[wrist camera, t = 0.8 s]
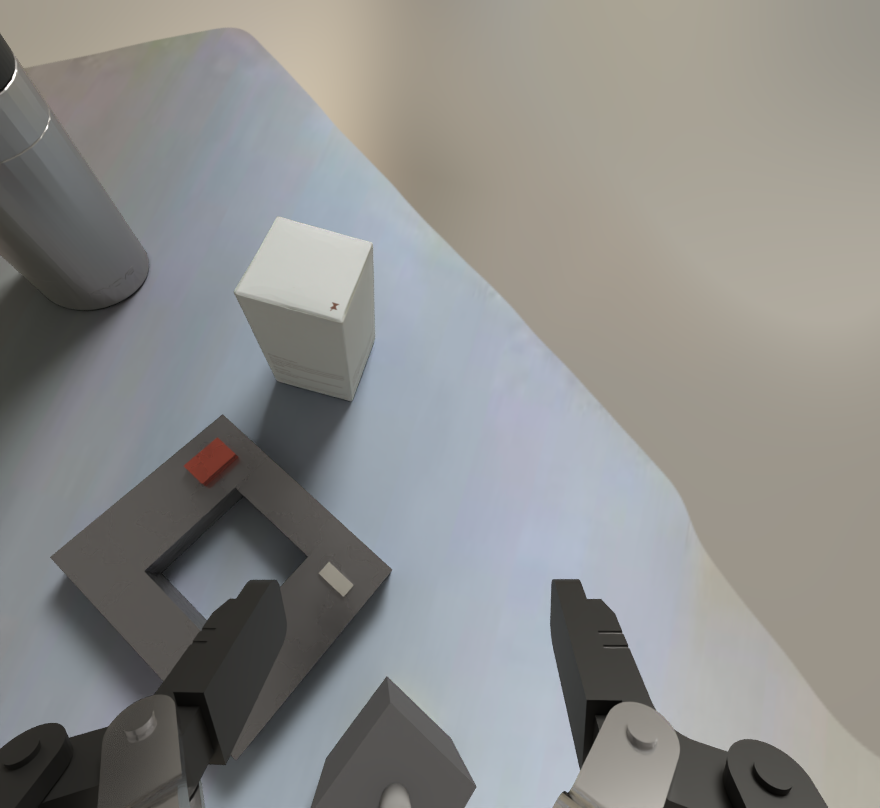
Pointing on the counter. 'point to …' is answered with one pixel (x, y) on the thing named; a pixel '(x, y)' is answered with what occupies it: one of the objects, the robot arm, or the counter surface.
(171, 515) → the socket
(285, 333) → the supplement box
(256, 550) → the counter surface
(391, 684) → the plug
